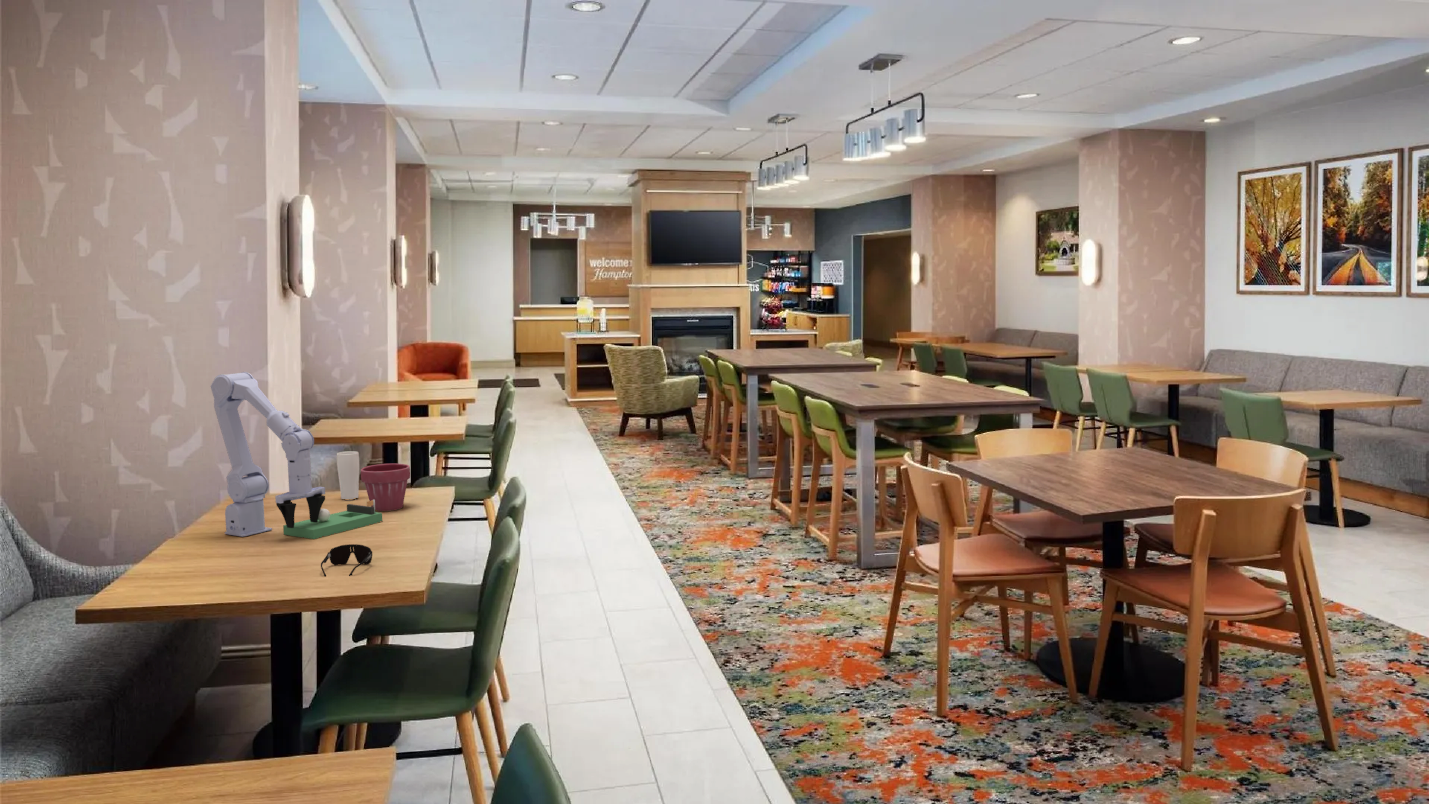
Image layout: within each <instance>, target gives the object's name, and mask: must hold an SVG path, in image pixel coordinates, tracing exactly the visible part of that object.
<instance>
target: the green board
mask: <svg viewBox="0 0 1429 804" xmlns="http://www.w3.org/2000/svg"><path fill="white" fill-rule="evenodd" d="M372 505H373V507H371V506H372ZM380 521H382V522H383V512H379V511H375V500H372V501H369V500H368V501H366V505H361V504H353V503H347V504H346V510H344V511H339V512H335V513H330V518H329V519H328V520H327V521H325V522H321V521H319V520H318V522H316V523H315V522H311V521H310V518H308V519H305V520H300V521H295V522H294V528H287V526H286V524H284V525H283V526H282V527H283V529H282V530H283V535H284V536H290V537H297V538H303V537H304V539H309V540H310V539H311V540H315V539H320V538H323V537H322V536H324V537H327V536H331V534H332V535H335V534H334V533H336V534H340V533H344V532H346V530H347V531H351V530H355V529H358V527H359V528H363V527H367V526H370V525H369V524H371V525H375V524H378V523H377V522H379V523H381V522H380ZM374 523H375V524H374ZM366 525H367V526H366ZM354 528H355V529H354ZM343 531H344V532H343ZM319 537H320V538H319Z"/></svg>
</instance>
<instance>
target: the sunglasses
mask: <svg viewBox="0 0 1429 804" xmlns="http://www.w3.org/2000/svg"><path fill="white" fill-rule="evenodd" d="M352 554H353V555H354V558H355V560H356V561H357V563H358V564H357V565H355V567H353V569H352V570H351V571H350V573H349V574H348V575H349V577H351V576H350V575H352V576H353V573H354V572H355V570H356V569H357V568H358V567H359V566H362V565H369V564H371V563H372V560H373V551H372V549H371V548H370V547H369V546H366V545H363V544H358V543H356V544H354V543H353V544H342V545H338V546H334V547H332V548H330V551H329V552H327V554H326V555H325V557H324V558H323V560H322V561H321V562H320V569H321V572H322V573H323V576H324V577H327V575H326V573H325V570H324V568H323V567H324V566H323V564H326V563H327V561H328V560H329V561H330V563H331V564H332V565H334V566H339V565H338V564H341V565H346V564H347V563H348V562H349V559H350V557H351V555H352ZM359 563H360V564H359ZM363 563H365V564H363Z"/></svg>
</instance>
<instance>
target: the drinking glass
mask: <svg viewBox="0 0 1429 804" xmlns="http://www.w3.org/2000/svg"><path fill="white" fill-rule="evenodd" d="M336 469H337V474H338V481H339V483H338V484H339V491H340V498H341V500H342V499H354V498H359V497H360V495H359V489H360V488H359V487H360V485H359V484H360V454H359V451H353V450H352V451H350V450H349V451H340V452H337V453H336Z"/></svg>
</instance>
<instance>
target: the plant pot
mask: <svg viewBox="0 0 1429 804" xmlns="http://www.w3.org/2000/svg"><path fill="white" fill-rule="evenodd" d="M410 478H411V468H410V464H406V463H381V464H380V463H379V464H372V465H367V466H364V467H362V468H360V481H361V482H362V483H364V486H365V490H366V493H367V497H368V501H372V500H375V510H378V511H377V512H391V510H392V511H397V510H401V509H402V508H403V507H404V502H405V497H406V496H405V495H406V492H407V491H406V490H407V485H408V484H407V483H408V481H409V479H410ZM370 507H373V505H372V506H370Z"/></svg>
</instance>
